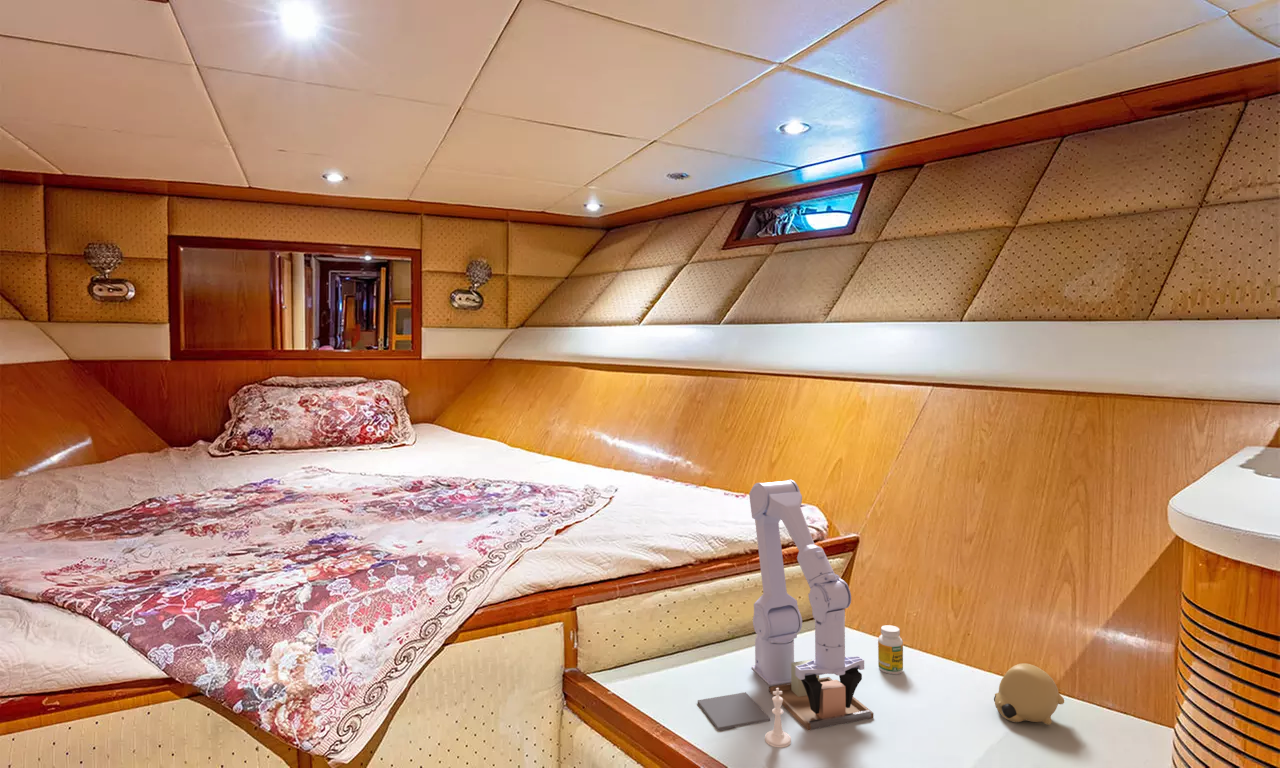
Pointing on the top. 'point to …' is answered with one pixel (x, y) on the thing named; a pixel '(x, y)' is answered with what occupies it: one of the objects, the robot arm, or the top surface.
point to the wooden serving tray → (813, 721)
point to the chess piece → (777, 724)
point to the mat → (732, 711)
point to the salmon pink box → (832, 699)
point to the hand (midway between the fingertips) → (830, 708)
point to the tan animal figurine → (1027, 695)
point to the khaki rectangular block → (798, 680)
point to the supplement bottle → (890, 650)
